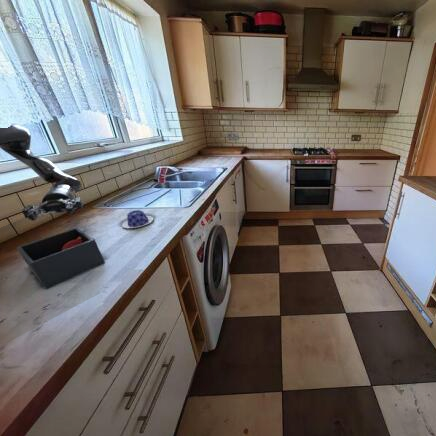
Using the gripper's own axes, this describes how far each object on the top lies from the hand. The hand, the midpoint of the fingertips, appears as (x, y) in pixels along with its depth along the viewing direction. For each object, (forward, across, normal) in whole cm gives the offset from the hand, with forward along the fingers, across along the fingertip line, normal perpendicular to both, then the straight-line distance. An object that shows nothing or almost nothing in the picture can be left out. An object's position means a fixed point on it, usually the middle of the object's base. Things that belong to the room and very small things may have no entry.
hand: (50, 214), depth 73 cm
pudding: (-15, -21, -16) cm, 31 cm away
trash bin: (+8, 0, -16) cm, 18 cm away
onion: (+7, 0, -14) cm, 16 cm away
